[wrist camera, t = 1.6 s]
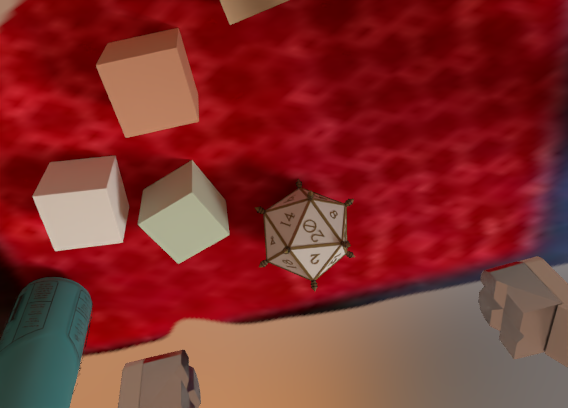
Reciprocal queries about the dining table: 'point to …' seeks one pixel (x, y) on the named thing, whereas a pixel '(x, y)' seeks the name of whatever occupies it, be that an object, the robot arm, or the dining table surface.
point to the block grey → (82, 203)
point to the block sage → (184, 212)
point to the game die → (306, 233)
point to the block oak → (246, 8)
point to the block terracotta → (149, 82)
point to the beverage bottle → (44, 344)
